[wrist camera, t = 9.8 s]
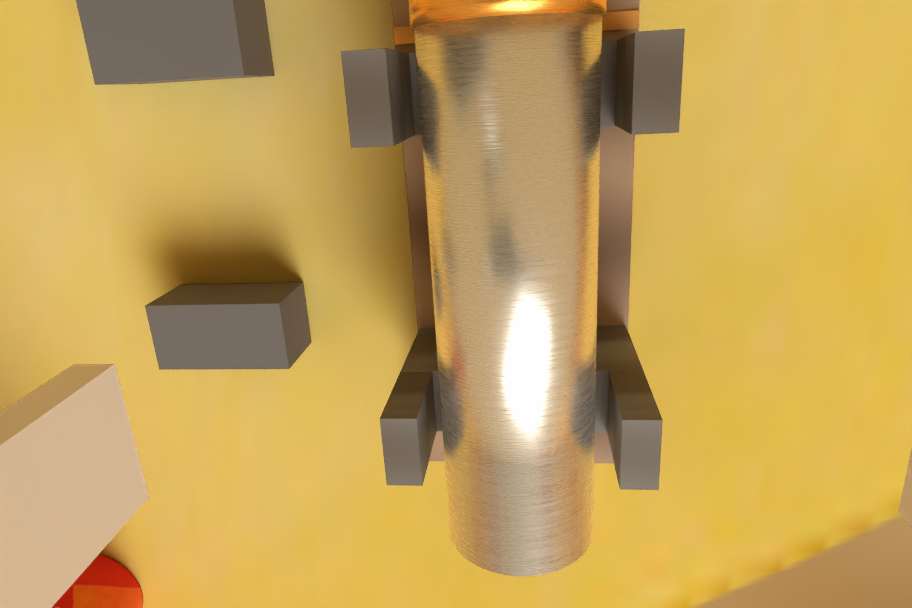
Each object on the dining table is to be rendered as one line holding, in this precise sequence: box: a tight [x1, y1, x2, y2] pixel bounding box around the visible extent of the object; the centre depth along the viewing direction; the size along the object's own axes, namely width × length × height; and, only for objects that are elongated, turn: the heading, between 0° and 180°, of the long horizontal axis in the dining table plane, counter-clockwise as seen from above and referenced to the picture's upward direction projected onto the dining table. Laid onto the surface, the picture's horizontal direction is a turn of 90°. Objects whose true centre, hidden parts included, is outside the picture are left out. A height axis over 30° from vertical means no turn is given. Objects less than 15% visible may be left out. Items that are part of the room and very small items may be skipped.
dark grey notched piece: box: [341, 0, 685, 490], centre depth 23 cm, size 22×9×10 cm, turn 3°
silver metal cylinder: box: [408, 0, 607, 576], centre depth 20 cm, size 18×5×5 cm, turn 3°
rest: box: [76, 0, 311, 369], centre depth 27 cm, size 15×6×3 cm, turn 3°
